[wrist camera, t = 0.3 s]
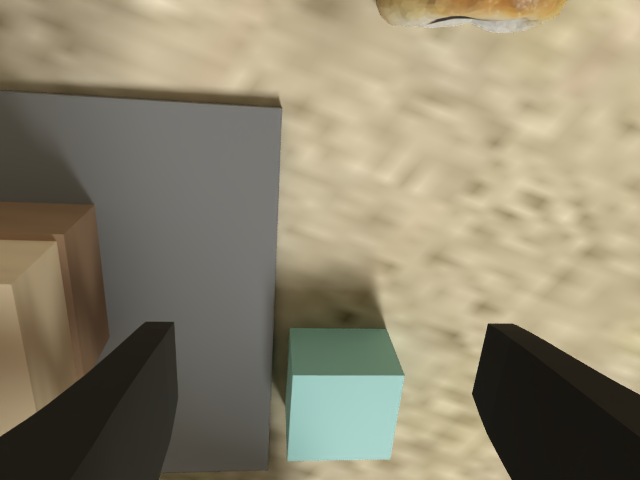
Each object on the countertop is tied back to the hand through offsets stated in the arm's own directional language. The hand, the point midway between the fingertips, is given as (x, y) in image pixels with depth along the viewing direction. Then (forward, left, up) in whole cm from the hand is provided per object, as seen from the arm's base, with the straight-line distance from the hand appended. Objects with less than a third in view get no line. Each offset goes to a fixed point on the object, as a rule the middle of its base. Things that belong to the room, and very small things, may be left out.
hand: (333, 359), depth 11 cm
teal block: (-8, -2, -10) cm, 13 cm away
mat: (-5, +9, -10) cm, 14 cm away
